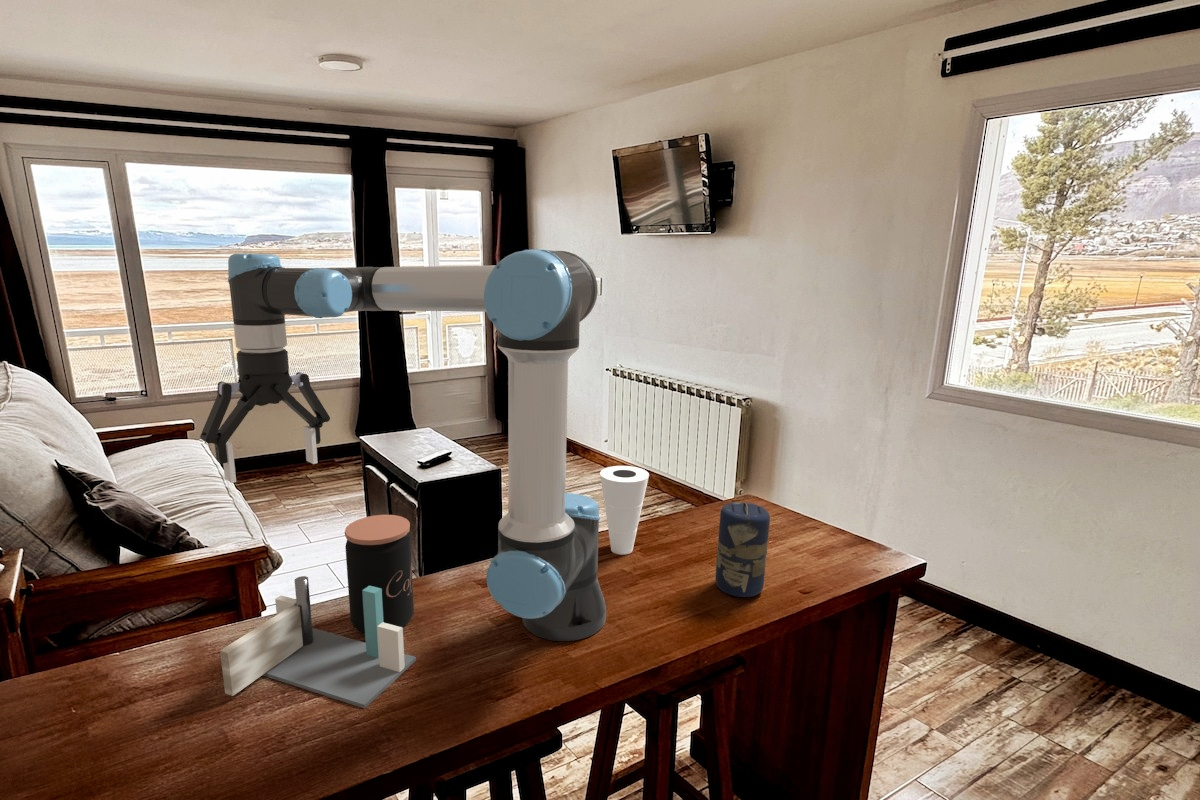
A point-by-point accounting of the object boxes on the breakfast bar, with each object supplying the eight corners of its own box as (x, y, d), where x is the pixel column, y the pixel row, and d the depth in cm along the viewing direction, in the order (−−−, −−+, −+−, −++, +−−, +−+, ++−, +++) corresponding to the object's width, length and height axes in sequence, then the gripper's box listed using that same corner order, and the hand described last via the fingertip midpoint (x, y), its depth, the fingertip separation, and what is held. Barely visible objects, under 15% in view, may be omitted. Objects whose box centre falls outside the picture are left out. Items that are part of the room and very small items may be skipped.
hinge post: (316, 643, 105) (310, 577, 103) (307, 650, 104) (301, 583, 101) (307, 640, 106) (301, 575, 103) (297, 647, 104) (291, 580, 102)
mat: (416, 660, 102) (416, 656, 102) (364, 708, 91) (364, 704, 91) (295, 626, 110) (295, 623, 110) (235, 666, 99) (234, 663, 99)
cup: (646, 561, 137) (650, 482, 133) (597, 560, 137) (599, 481, 133) (644, 540, 147) (647, 466, 143) (598, 538, 147) (600, 465, 143)
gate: (295, 643, 104) (292, 605, 102) (303, 645, 103) (299, 607, 102) (225, 693, 92) (219, 650, 90) (232, 696, 91) (227, 653, 90)
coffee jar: (395, 642, 106) (390, 543, 102) (338, 633, 108) (330, 536, 104) (425, 608, 116) (421, 517, 112) (372, 601, 119) (366, 511, 115)
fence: (404, 667, 99) (402, 627, 97) (399, 672, 98) (397, 631, 96) (284, 632, 107) (281, 595, 106) (278, 636, 106) (275, 598, 104)
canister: (709, 594, 124) (715, 508, 120) (719, 573, 133) (725, 492, 129) (759, 605, 120) (767, 517, 116) (766, 582, 129) (774, 499, 125)
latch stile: (385, 655, 103) (381, 588, 100) (378, 661, 101) (374, 593, 99) (373, 652, 104) (369, 585, 101) (366, 657, 102) (362, 590, 99)
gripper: (324, 340, 116) (332, 450, 121) (167, 353, 98) (183, 483, 103) (345, 345, 112) (352, 459, 116) (184, 359, 93) (200, 495, 98)
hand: (273, 471), depth 109 cm, fingers open, 13 cm apart
